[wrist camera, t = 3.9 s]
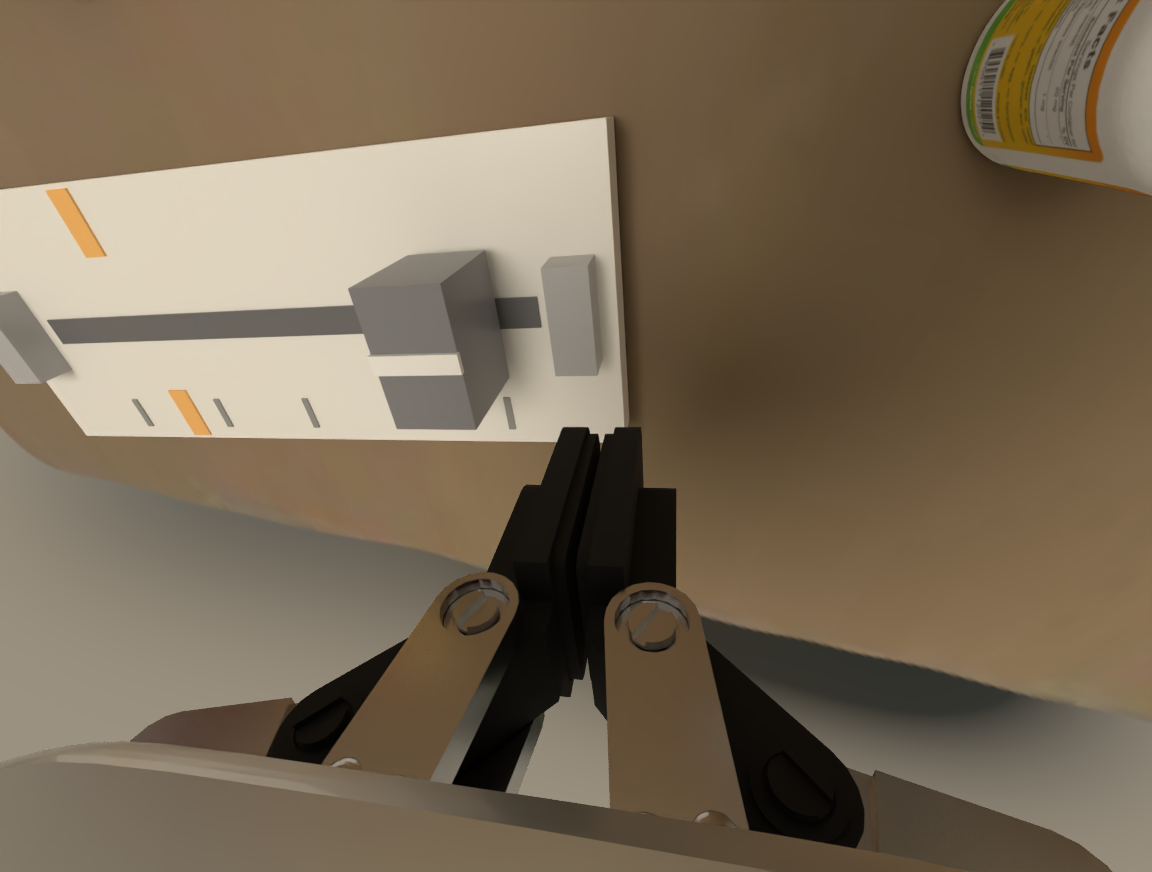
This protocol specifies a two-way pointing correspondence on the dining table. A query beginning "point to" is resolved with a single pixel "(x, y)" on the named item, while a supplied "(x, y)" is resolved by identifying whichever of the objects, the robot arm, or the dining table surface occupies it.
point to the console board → (315, 285)
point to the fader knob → (434, 338)
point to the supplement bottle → (1065, 90)
